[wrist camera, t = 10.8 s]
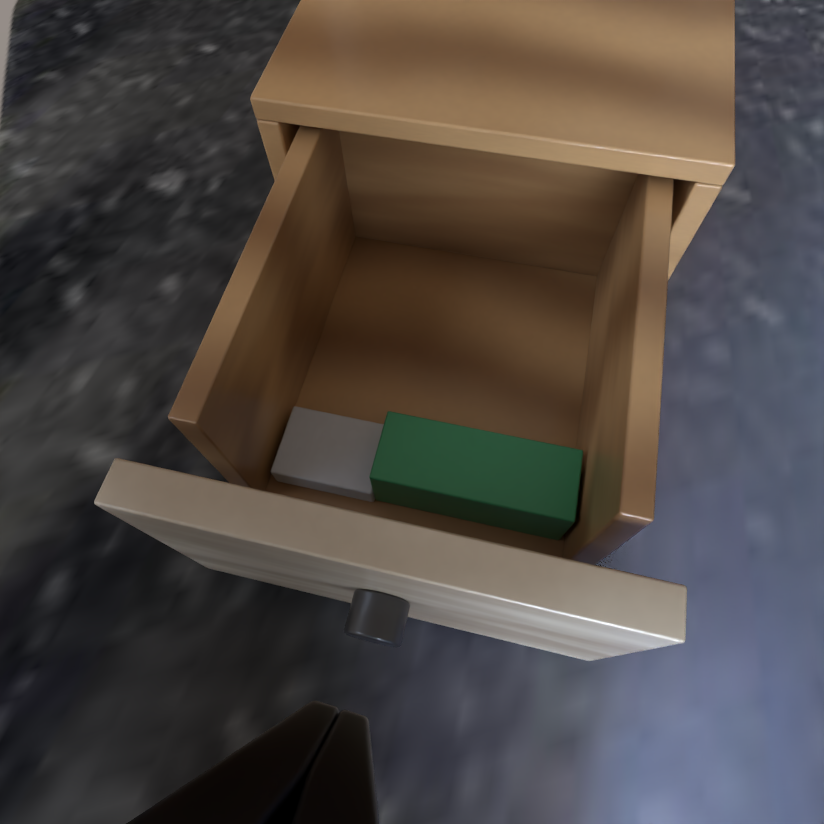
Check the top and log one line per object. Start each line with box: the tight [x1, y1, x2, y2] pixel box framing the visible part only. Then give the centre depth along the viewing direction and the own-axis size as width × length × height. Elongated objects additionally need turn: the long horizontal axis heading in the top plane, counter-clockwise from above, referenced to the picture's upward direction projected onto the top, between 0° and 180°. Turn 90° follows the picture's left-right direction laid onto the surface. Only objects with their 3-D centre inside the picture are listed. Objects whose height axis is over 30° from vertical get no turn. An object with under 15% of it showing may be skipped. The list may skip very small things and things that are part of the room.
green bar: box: [271, 406, 583, 540], centre depth 20 cm, size 10×3×2 cm, turn 77°
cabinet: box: [250, 0, 735, 280], centre depth 25 cm, size 17×15×10 cm
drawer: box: [94, 125, 687, 661], centre depth 19 cm, size 17×13×8 cm
